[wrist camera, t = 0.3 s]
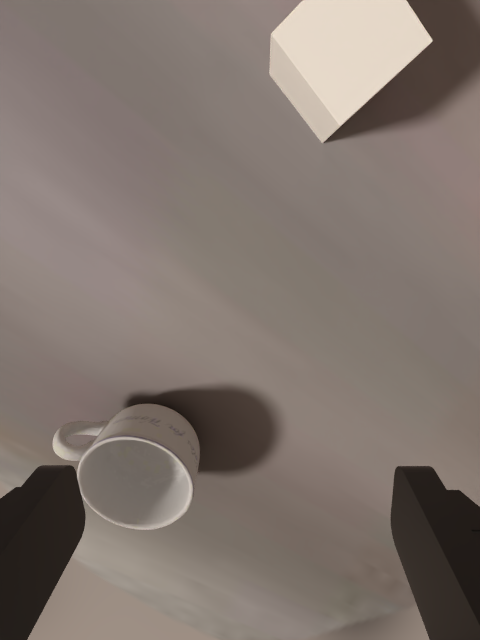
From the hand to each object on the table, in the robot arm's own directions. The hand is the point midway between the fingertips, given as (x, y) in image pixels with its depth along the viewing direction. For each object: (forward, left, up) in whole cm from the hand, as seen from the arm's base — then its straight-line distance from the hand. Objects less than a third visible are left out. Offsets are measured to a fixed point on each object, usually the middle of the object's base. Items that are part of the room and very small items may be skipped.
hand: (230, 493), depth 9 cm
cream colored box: (-17, +5, -27) cm, 32 cm away
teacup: (+17, -11, -28) cm, 34 cm away
